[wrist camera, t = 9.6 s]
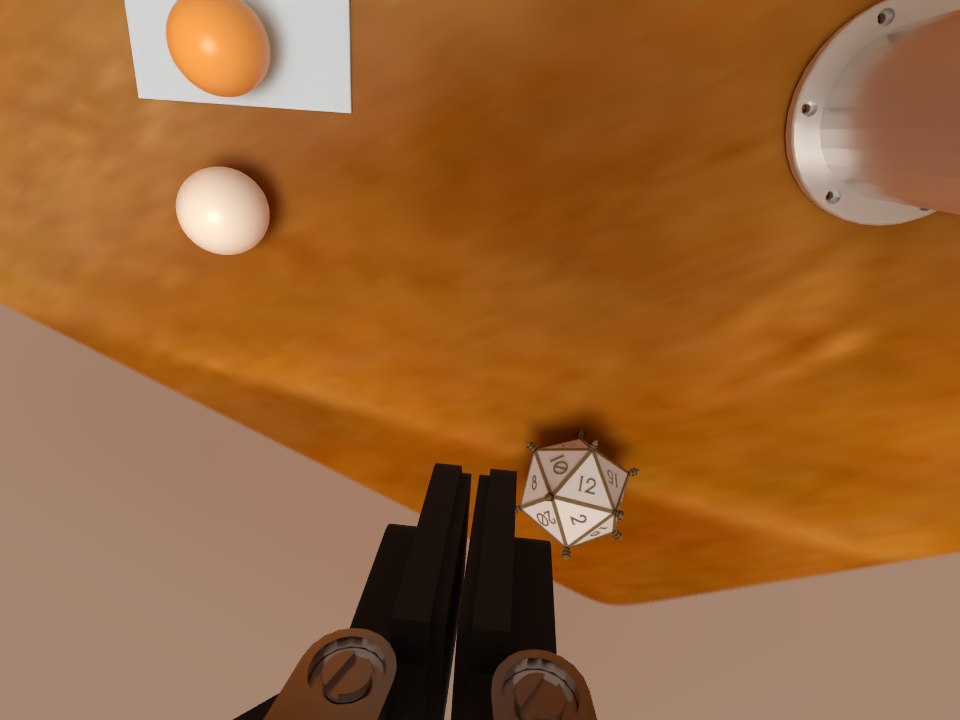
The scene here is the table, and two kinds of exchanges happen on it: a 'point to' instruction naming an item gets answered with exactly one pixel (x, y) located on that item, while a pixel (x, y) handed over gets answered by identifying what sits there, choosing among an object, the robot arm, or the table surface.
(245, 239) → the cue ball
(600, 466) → the game die
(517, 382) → the table surface
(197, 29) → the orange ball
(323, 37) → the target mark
